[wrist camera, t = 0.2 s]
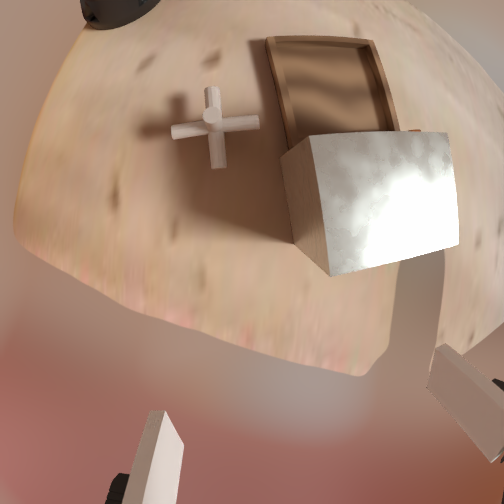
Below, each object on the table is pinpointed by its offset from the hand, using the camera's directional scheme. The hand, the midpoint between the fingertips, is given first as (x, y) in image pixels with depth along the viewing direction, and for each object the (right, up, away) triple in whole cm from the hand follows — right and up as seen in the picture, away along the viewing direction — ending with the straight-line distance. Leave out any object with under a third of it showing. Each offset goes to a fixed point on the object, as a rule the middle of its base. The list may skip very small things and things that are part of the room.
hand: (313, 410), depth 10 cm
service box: (+10, +15, +26) cm, 32 cm away
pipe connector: (-7, +23, +23) cm, 33 cm away
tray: (+9, +31, +23) cm, 39 cm away
